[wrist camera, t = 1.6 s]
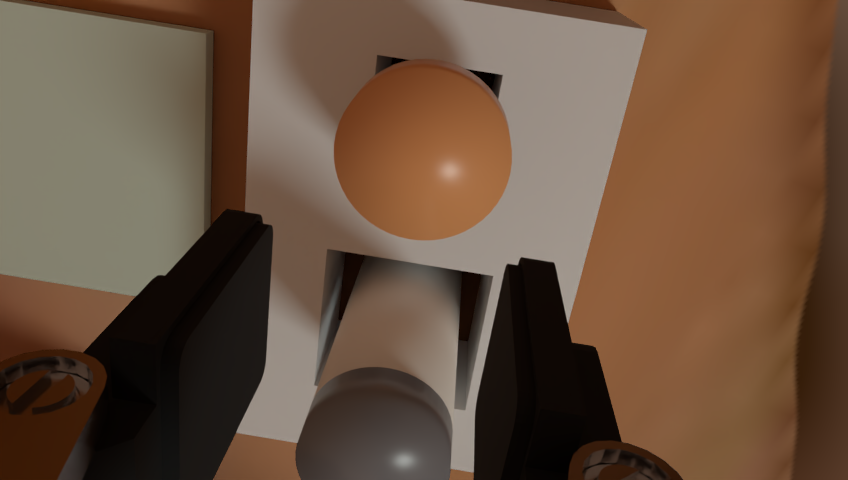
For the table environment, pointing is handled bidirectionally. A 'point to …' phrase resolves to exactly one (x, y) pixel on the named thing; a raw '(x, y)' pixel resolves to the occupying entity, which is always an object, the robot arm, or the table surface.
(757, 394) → the table surface
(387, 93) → the plunger
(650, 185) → the table surface
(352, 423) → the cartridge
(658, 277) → the table surface
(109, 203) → the mat
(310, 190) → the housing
